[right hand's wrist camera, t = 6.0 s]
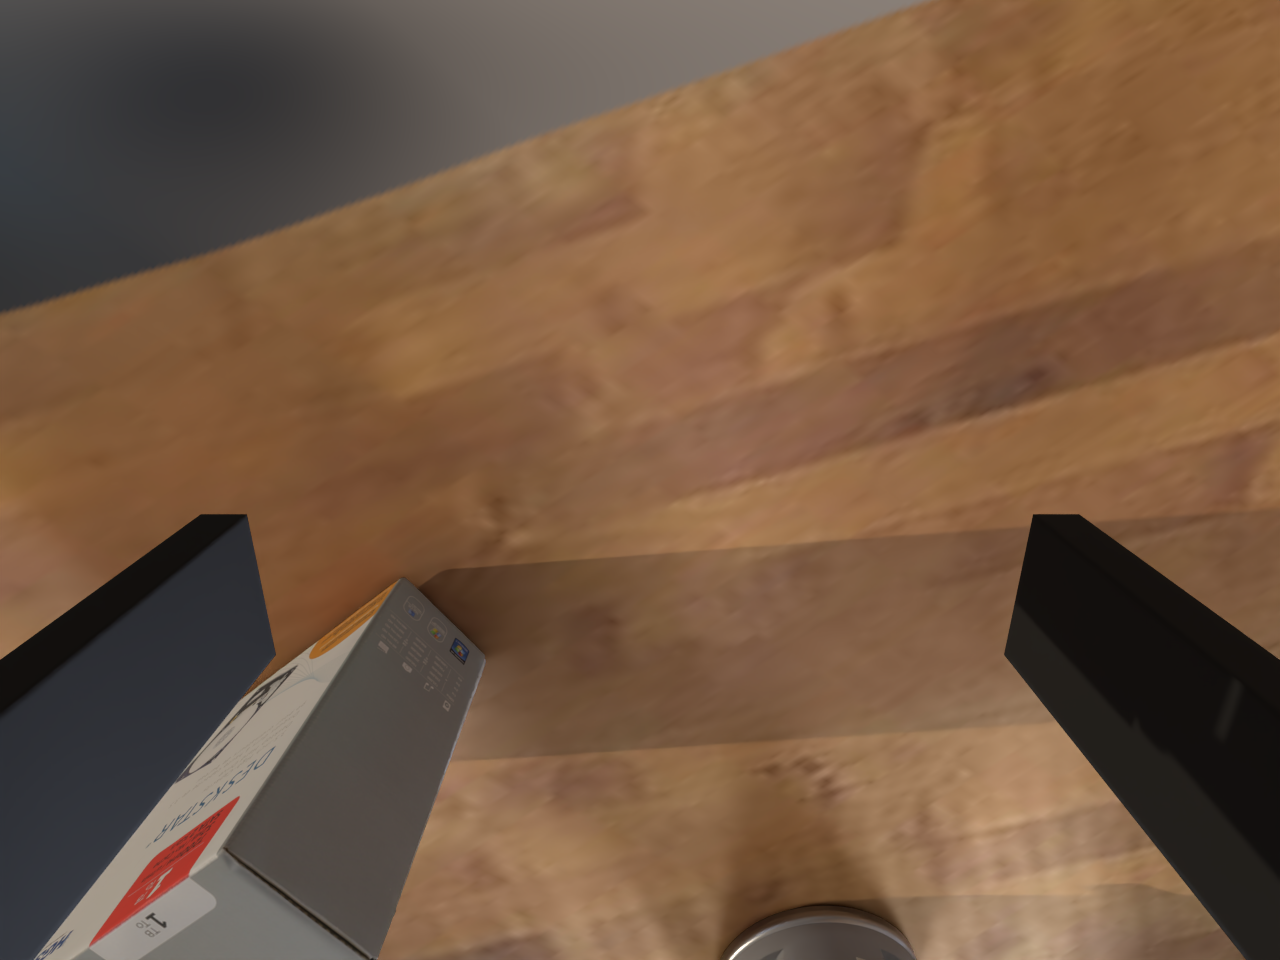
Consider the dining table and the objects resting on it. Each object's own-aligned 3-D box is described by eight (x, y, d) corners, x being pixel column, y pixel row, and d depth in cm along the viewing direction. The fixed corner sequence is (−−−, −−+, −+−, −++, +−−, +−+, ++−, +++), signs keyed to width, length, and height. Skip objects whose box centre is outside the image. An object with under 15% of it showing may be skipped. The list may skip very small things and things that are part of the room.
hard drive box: (404, 569, 44) (228, 846, 25) (491, 655, 46) (390, 969, 27) (229, 703, 47) (-39, 1035, 29) (318, 778, 49) (123, 1131, 31)
